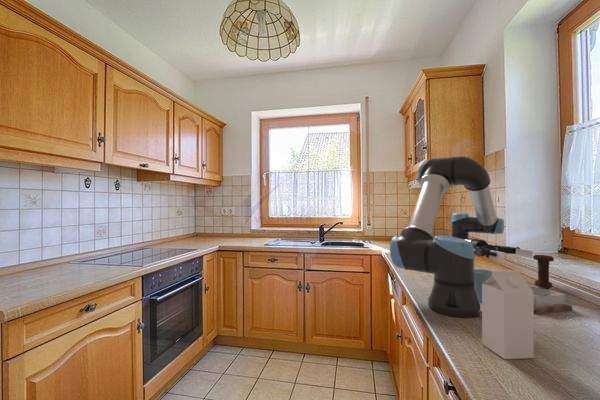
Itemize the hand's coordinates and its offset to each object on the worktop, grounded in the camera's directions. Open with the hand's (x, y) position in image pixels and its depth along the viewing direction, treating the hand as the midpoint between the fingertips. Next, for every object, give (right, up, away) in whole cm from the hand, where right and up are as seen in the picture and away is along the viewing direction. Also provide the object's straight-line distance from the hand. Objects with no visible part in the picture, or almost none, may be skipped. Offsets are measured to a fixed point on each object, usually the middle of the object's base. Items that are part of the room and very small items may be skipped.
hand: (518, 255), depth 119 cm
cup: (-24, -14, -15) cm, 31 cm away
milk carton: (-40, -13, -50) cm, 65 cm away
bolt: (+2, -14, -10) cm, 17 cm away
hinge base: (-9, -13, -19) cm, 25 cm away
